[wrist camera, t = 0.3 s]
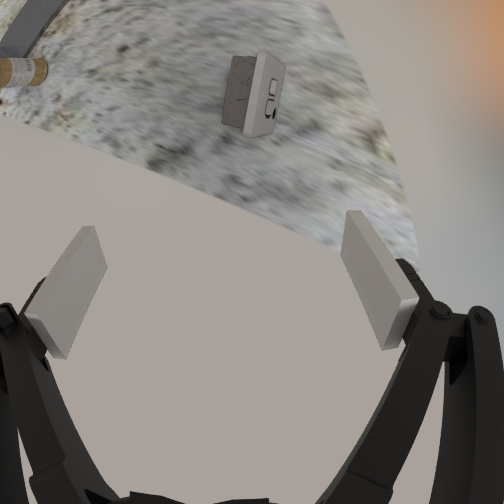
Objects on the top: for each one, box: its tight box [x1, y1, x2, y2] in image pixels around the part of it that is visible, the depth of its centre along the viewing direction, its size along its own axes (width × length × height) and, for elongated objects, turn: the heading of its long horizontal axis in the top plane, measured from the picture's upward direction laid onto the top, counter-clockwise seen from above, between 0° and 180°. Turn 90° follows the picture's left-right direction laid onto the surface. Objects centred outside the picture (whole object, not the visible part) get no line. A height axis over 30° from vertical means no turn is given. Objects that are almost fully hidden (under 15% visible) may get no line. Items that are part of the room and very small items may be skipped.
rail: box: [0, 0, 69, 59], centre depth 24 cm, size 25×8×5 cm, turn 132°
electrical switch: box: [221, 51, 285, 137], centre depth 31 cm, size 9×5×9 cm, turn 170°
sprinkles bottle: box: [0, 58, 48, 89], centre depth 26 cm, size 5×5×14 cm
